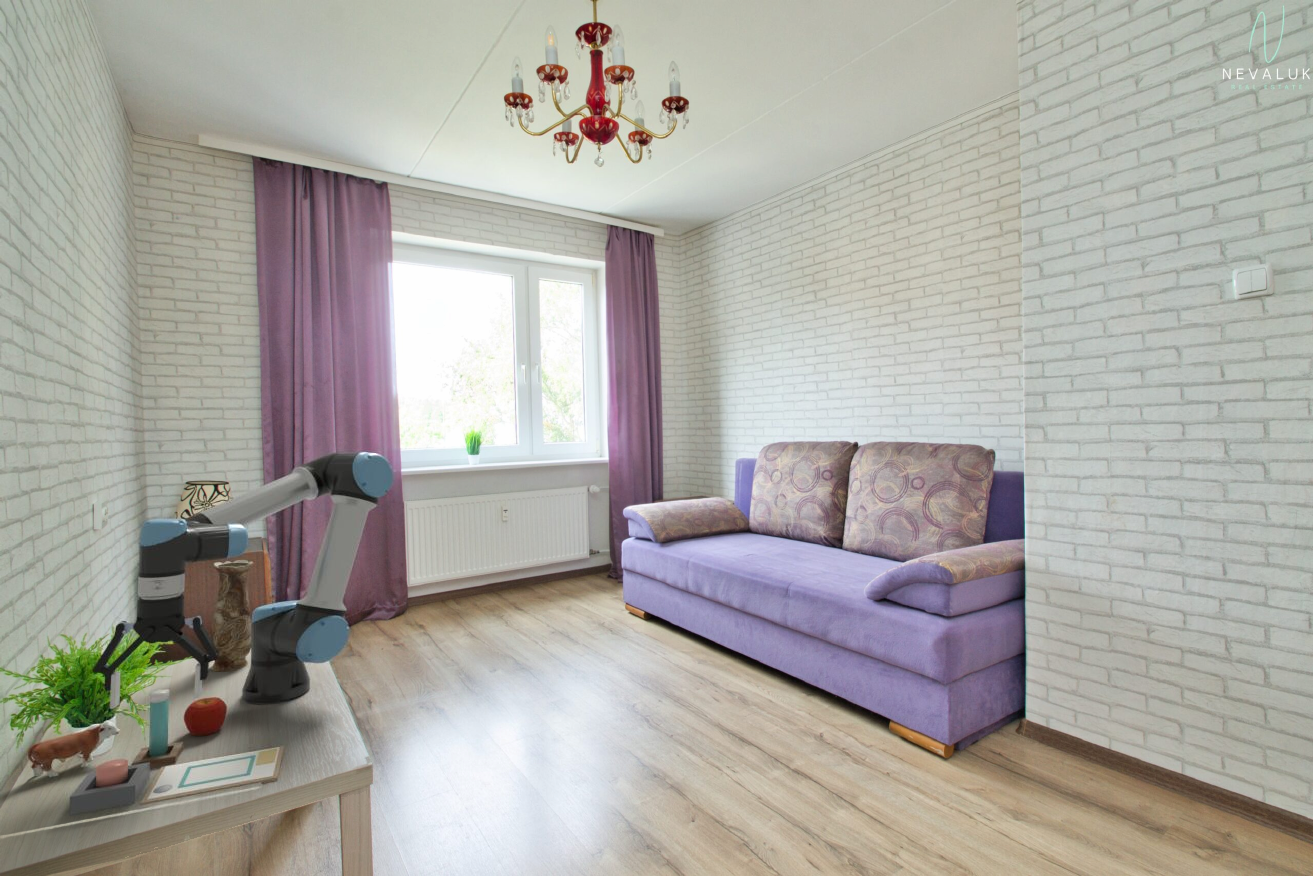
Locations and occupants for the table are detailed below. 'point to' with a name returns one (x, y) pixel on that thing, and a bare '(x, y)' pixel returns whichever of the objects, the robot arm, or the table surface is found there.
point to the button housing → (109, 791)
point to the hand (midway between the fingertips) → (157, 701)
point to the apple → (205, 716)
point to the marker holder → (168, 759)
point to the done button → (111, 773)
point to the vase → (232, 616)
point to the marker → (158, 723)
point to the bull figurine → (69, 747)
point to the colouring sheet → (215, 774)
